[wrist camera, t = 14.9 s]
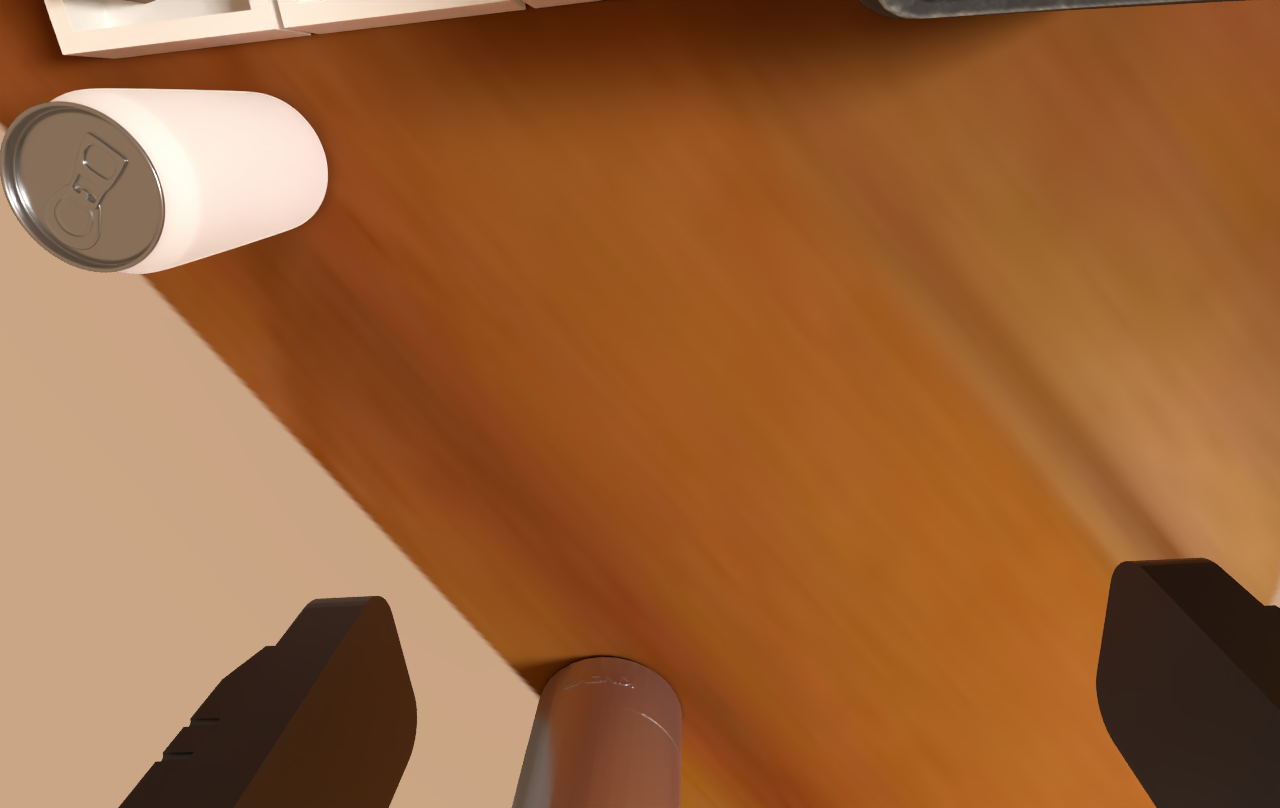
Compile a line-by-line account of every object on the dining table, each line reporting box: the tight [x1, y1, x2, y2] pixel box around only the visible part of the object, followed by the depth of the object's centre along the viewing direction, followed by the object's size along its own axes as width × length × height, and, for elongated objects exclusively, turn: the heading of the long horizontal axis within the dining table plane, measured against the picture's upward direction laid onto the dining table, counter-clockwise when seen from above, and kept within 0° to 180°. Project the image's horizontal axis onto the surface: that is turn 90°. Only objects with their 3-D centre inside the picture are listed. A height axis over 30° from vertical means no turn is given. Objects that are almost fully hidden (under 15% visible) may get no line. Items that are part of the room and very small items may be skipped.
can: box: [0, 88, 328, 274], centre depth 31 cm, size 6×6×12 cm
